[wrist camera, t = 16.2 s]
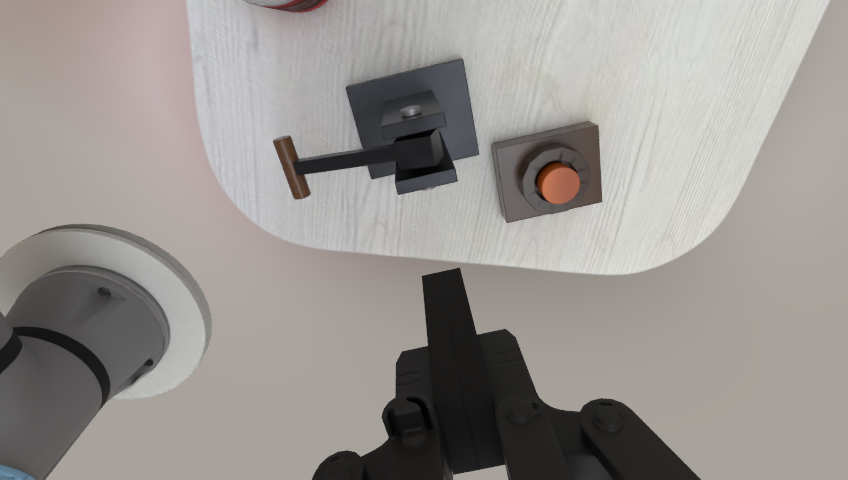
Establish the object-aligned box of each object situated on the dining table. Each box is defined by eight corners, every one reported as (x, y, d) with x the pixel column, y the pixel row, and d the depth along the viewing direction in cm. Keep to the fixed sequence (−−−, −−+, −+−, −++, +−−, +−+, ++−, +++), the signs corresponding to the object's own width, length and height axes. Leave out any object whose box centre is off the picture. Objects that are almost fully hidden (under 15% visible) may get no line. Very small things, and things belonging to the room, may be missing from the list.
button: (538, 201, 44) (543, 208, 42) (534, 167, 42) (539, 172, 41) (574, 193, 44) (581, 199, 42) (572, 158, 42) (578, 163, 40)
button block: (502, 215, 48) (510, 230, 44) (491, 143, 45) (499, 153, 41) (594, 195, 48) (610, 208, 44) (589, 121, 44) (606, 128, 41)
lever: (302, 191, 38) (287, 202, 36) (282, 135, 36) (265, 143, 34) (447, 173, 34) (440, 184, 32) (434, 107, 32) (425, 115, 30)
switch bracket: (372, 175, 45) (361, 229, 33) (346, 85, 42) (323, 107, 29) (477, 151, 45) (507, 197, 32) (461, 58, 41) (488, 68, 29)
